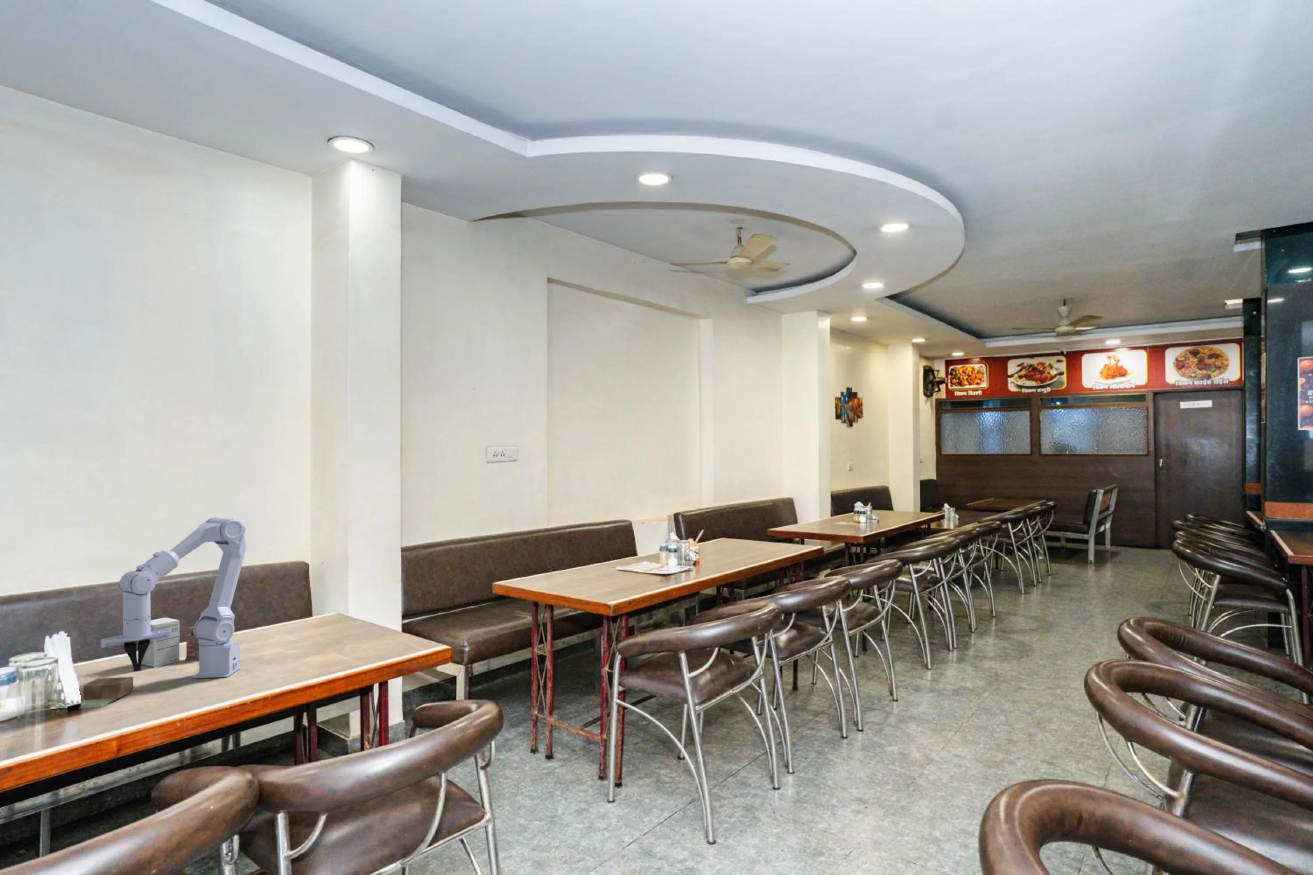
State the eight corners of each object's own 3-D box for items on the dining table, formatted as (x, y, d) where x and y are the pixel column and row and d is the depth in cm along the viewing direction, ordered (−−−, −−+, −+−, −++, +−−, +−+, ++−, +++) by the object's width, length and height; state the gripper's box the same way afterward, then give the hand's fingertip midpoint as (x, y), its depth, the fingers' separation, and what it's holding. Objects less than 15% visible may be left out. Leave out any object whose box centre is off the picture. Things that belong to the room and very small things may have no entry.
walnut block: (133, 676, 181) (96, 678, 180) (117, 684, 175) (79, 686, 174) (133, 690, 181) (96, 691, 180) (117, 698, 175) (79, 700, 174)
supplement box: (139, 664, 206) (139, 622, 206) (166, 657, 212) (166, 616, 212) (153, 668, 202) (153, 624, 202) (180, 661, 209) (180, 619, 209)
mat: (135, 688, 184) (135, 682, 184) (101, 707, 172) (101, 699, 172) (87, 690, 183) (87, 684, 183) (49, 709, 170) (49, 702, 170)
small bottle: (183, 661, 208) (183, 628, 208) (188, 657, 212) (188, 625, 212) (214, 658, 211) (213, 625, 211) (217, 655, 214) (217, 623, 214)
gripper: (171, 610, 186) (171, 660, 186) (102, 618, 178) (102, 671, 178) (171, 615, 180) (171, 667, 180) (100, 624, 172) (100, 679, 172)
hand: (137, 670), depth 179 cm, fingers closed
